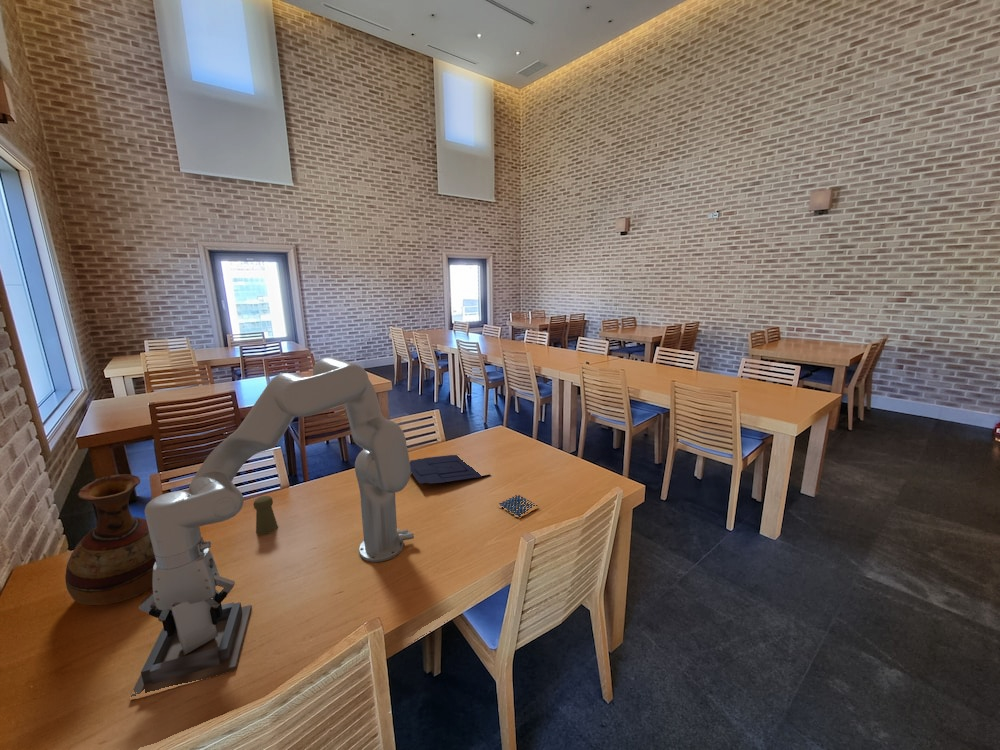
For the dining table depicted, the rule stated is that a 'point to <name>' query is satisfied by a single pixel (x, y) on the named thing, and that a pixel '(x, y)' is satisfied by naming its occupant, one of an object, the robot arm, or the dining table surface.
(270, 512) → the cork
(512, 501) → the woven mat
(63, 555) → the dining table surface
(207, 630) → the skincare box
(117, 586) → the painted clay vase
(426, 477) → the navy folded cloth
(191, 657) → the socket stand
